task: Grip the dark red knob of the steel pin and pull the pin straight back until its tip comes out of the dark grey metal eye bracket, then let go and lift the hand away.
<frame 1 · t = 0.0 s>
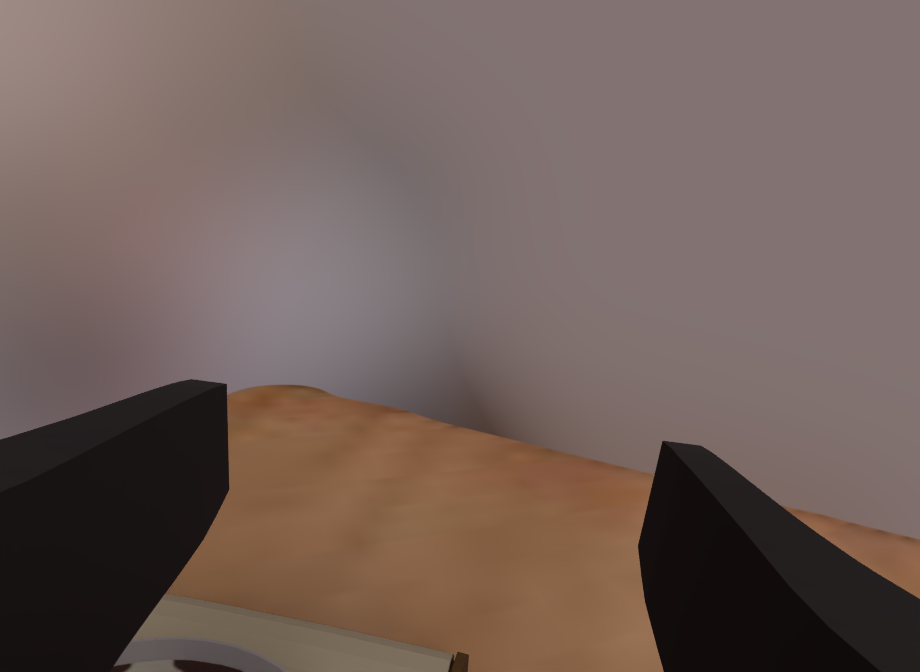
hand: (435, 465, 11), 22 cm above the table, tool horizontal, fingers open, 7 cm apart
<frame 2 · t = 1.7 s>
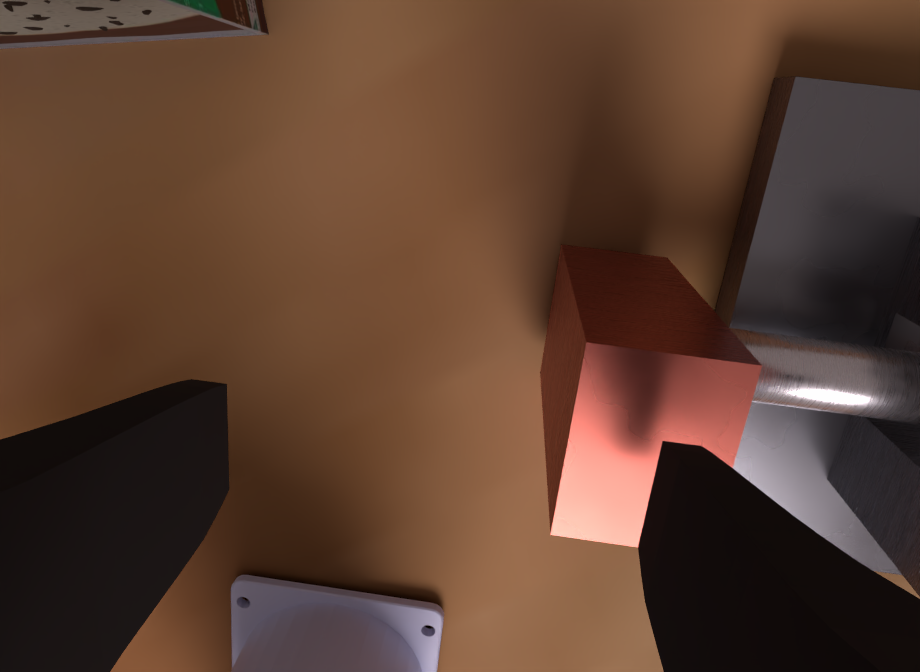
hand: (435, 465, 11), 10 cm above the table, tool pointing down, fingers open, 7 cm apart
eye bracket: (878, 343, 20), on the table
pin: (844, 400, 16), point 5 cm above the table, slide at 0.0 cm
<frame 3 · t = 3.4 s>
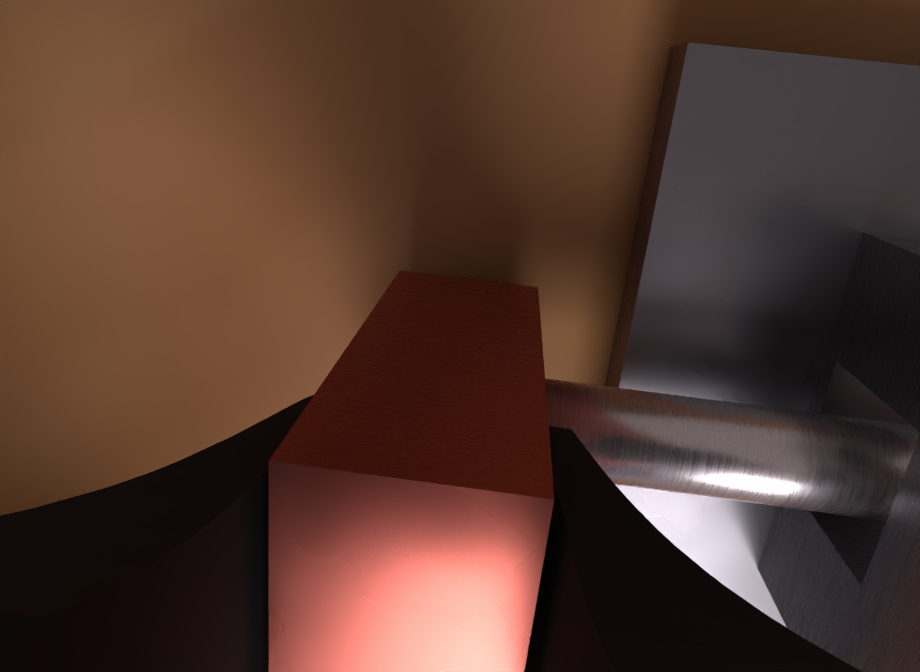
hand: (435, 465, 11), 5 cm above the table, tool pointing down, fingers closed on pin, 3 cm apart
eye bracket: (823, 393, 16), on the table
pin: (750, 494, 11), point 5 cm above the table, slide at 0.0 cm, touching gripper
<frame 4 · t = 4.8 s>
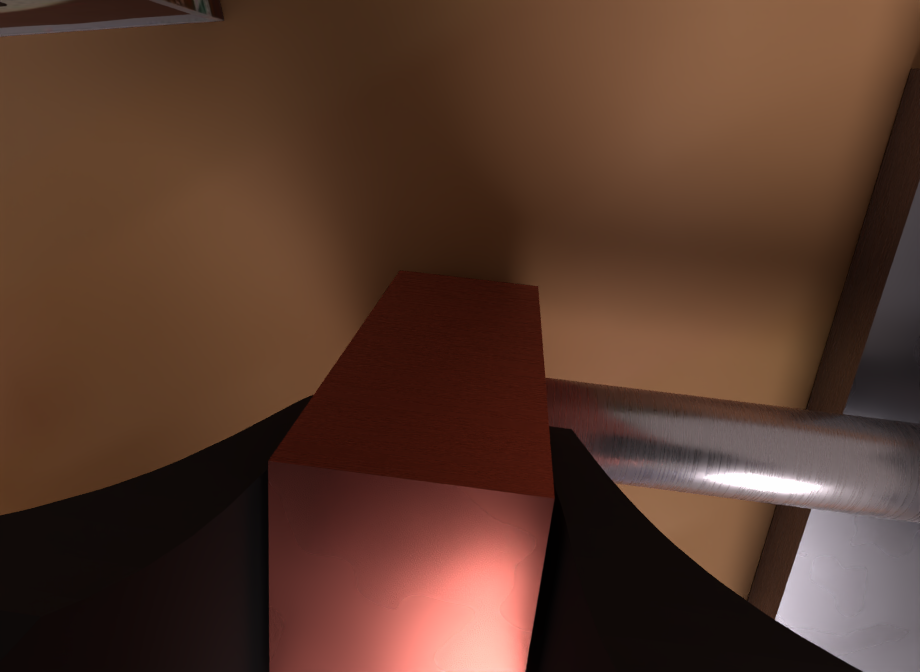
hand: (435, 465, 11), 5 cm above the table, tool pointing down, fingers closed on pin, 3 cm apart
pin: (752, 493, 11), point 5 cm above the table, slide at 4.7 cm, touching gripper
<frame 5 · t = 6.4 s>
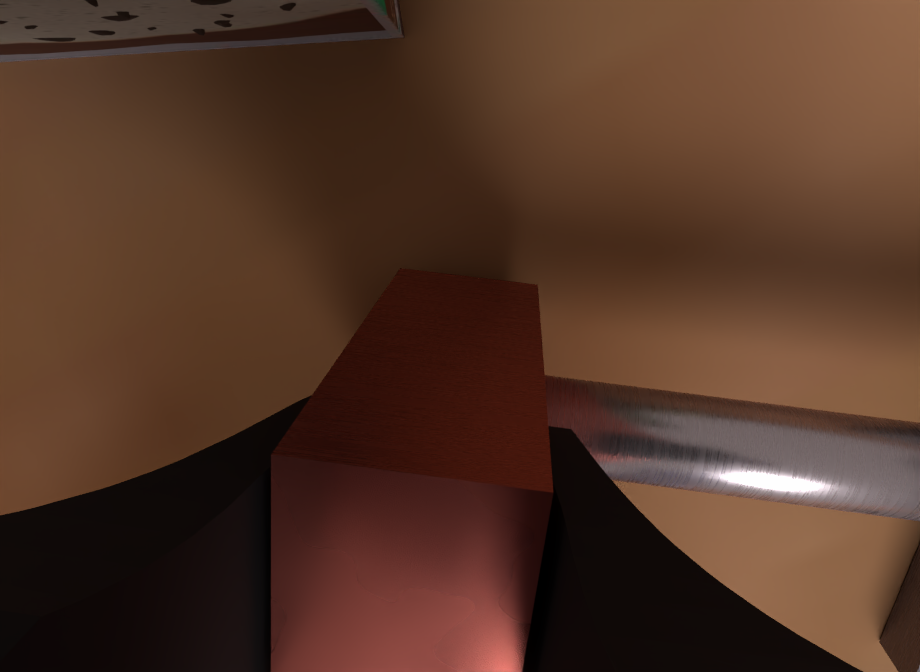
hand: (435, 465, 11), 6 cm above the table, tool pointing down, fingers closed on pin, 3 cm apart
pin: (748, 490, 11), point 5 cm above the table, slide at 8.5 cm, touching gripper
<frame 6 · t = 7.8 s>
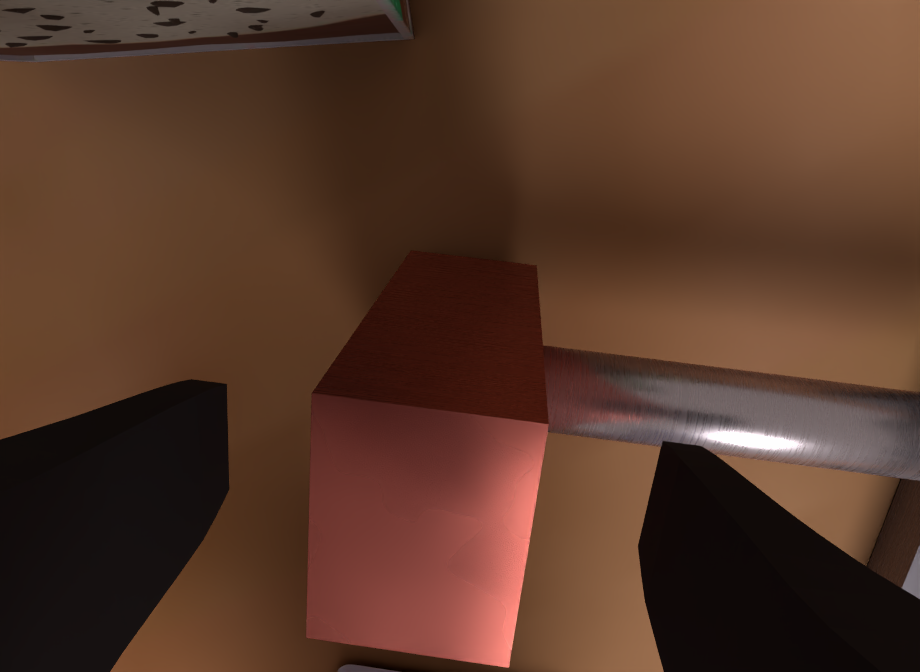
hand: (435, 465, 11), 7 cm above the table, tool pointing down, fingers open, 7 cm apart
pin: (724, 444, 13), point 5 cm above the table, slide at 8.5 cm
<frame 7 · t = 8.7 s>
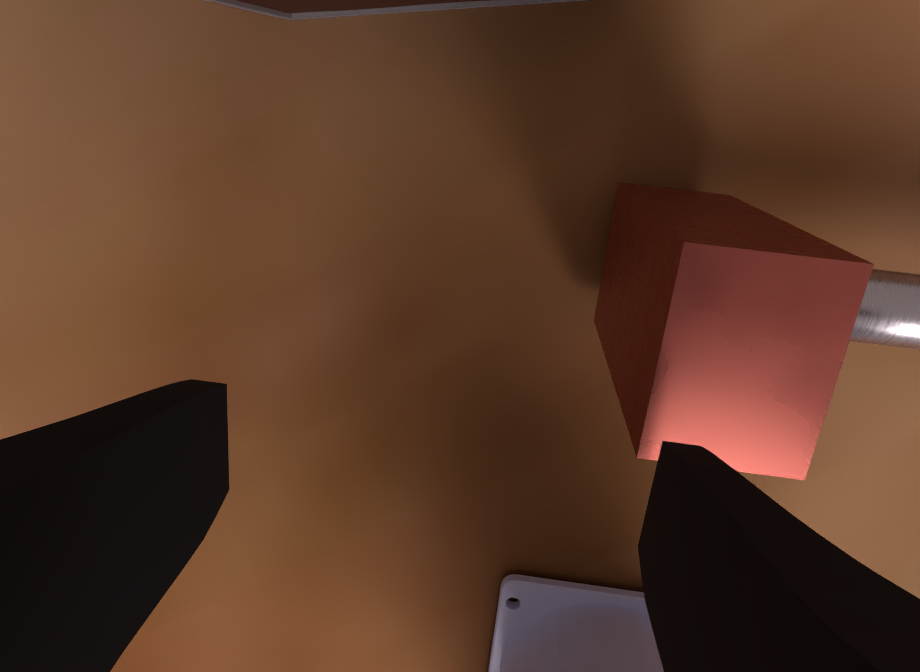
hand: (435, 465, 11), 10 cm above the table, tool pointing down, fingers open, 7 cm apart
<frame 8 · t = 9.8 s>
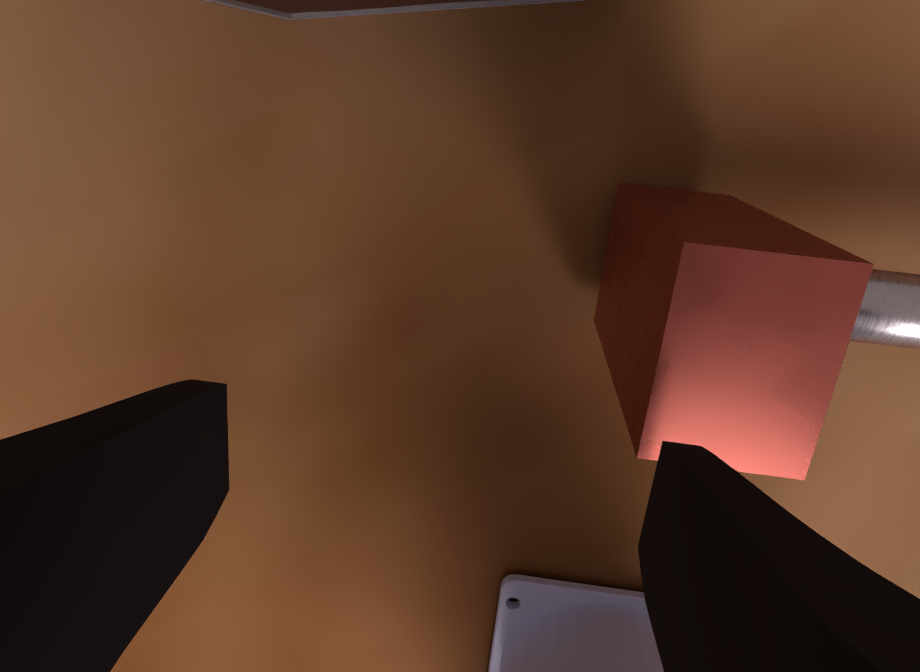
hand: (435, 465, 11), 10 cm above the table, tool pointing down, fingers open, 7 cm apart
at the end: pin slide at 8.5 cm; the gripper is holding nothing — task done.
